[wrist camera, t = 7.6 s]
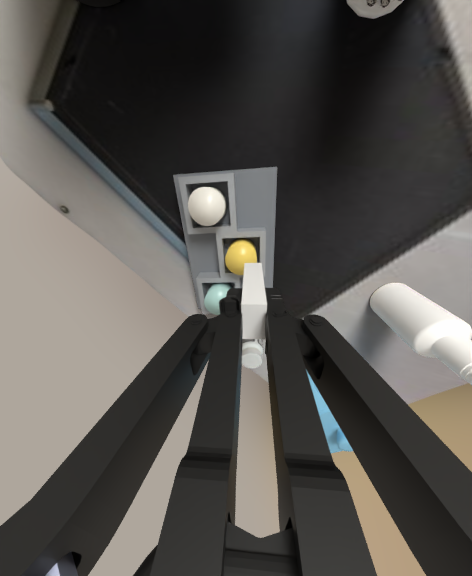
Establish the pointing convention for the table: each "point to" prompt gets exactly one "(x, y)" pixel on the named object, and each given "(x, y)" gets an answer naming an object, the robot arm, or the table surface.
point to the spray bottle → (425, 327)
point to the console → (229, 225)
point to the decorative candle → (373, 7)
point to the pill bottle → (252, 352)
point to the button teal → (216, 296)
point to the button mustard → (240, 255)
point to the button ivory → (207, 205)
